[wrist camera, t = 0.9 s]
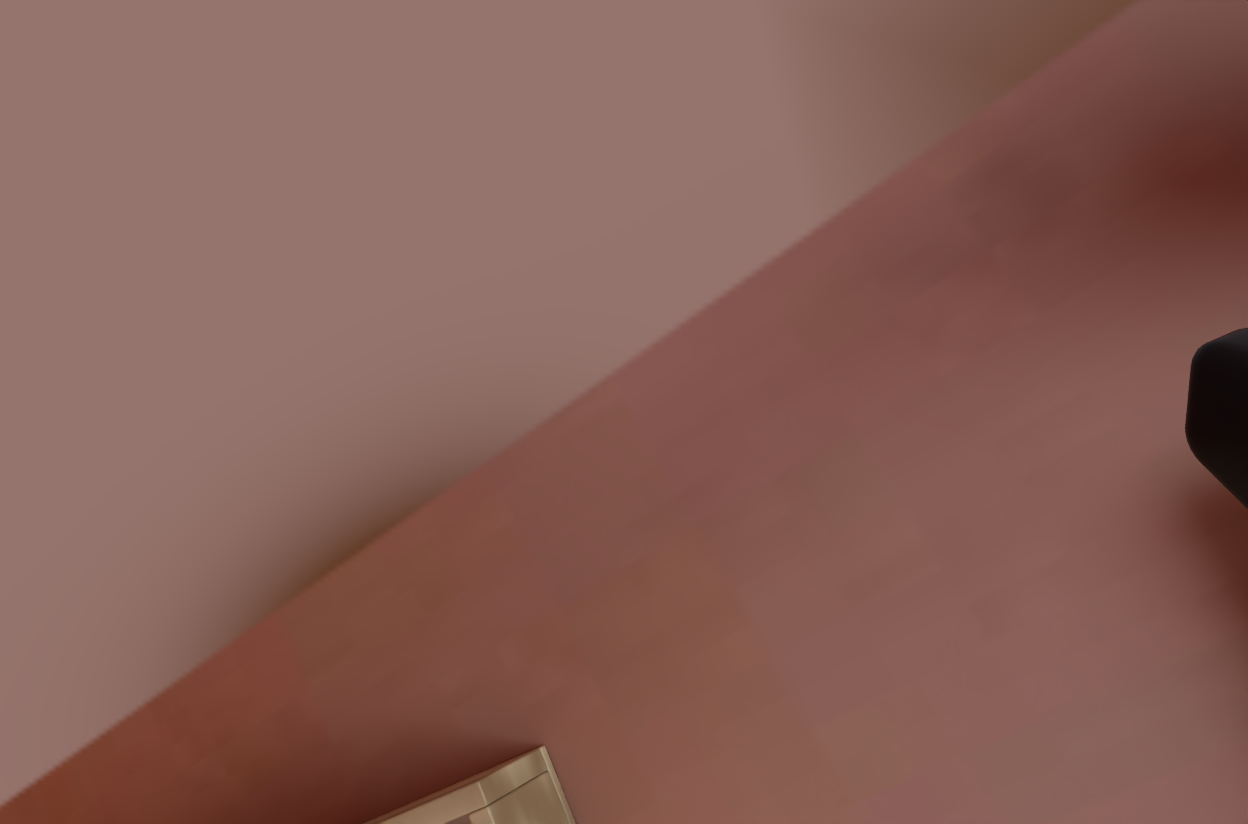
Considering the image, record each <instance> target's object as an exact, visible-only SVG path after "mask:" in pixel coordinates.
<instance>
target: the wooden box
mask: <svg viewBox="0 0 1248 824" xmlns="http://www.w3.org/2000/svg"><path fill="white" fill-rule="evenodd" d="M363 824H576V823H575V820H574V818H573V815H572V813H571V810H570V808H569V805H568V803H567V800H566V798H565V795H564V793H563V790H562V788H561V785H560V783H559V780H558V778H557V775H556V773H555V770H554V768H553V765H552V763H551V760H550V758H549V755H548V753H547V750H546V748H545V746H541V747H539V748H537V749H534V750H532V751H530V752H527V753H525V754H523V755H520V756H518V757H516V758H513V759H511V760H509V761H506V762H504V763H502V764H500V765H497V766H495V767H493V768H490V769H488V770H486V771H483V772H481V773H479V774H476V775H474V776H472V777H469V778H467V779H465V780H462V781H460V782H458V783H456V784H453V785H451V786H449V787H446V788H444V789H442V790H439V791H437V792H435V793H432V794H430V795H428V796H425V797H423V798H421V799H419V800H416V801H414V802H412V803H409V804H407V805H405V806H402V807H400V808H398V809H395V810H393V811H391V812H388V813H386V814H384V815H381V816H379V817H377V818H375V819H372V820H370V821H368V822H365V823H363Z"/></svg>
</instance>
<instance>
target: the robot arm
mask: <svg viewBox="0 0 1248 824" xmlns="http://www.w3.org/2000/svg"><path fill="white" fill-rule="evenodd" d="M1185 433H1186V438H1187V442H1188V444H1189V446H1190V449H1191V450H1192V452H1193V454H1194V455H1195V457H1196V458H1197V459H1198V460H1199V461H1200V462H1201V463H1202V464H1203V465H1204V466H1205V467H1206V468H1207V469H1208V470H1209V471H1210V472H1211V473H1212V474H1213V475H1214V476H1215V477H1216V478H1217V479H1218V480H1219V481H1220V482H1221V483H1222V484H1223V485H1224V486H1225V487H1226V488H1227V489H1228V490H1229V491H1230V492H1231V493H1232V494H1233V495H1234V496H1235V497H1236V498H1237V499H1238V500H1239V501H1240V502H1241V503H1242V504H1243V505H1244V506H1245V507H1246V508H1247V509H1248V328H1243V329H1239V330H1235V331H1233V332H1231V333H1228V334H1226V335H1224V336H1221V337H1219V338H1217V339H1215V340H1212V341H1210V342H1208V343H1206V344H1204V345H1202V346H1201V347H1200V348H1199V349H1198V350H1197V351H1196V353H1195V355H1194V356H1193V359H1192V363H1191V370H1190V381H1189V391H1188V402H1187V413H1186V424H1185Z"/></svg>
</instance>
